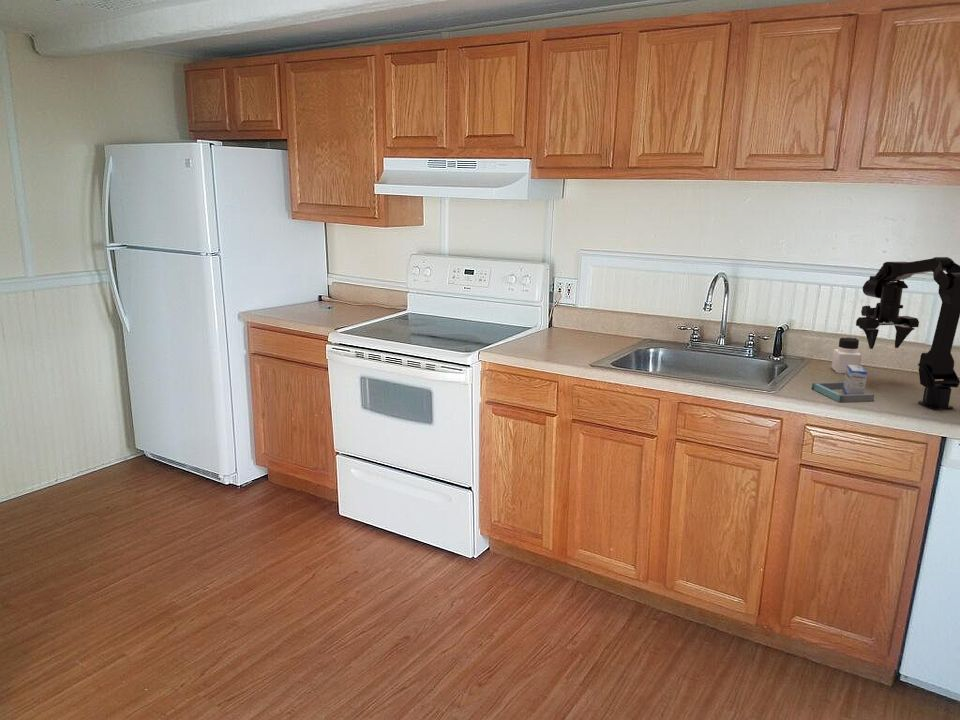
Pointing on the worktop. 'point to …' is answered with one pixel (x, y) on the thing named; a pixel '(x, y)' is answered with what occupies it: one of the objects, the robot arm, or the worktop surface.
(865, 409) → the worktop surface
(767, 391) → the worktop surface
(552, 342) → the worktop surface
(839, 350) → the medicine bottle
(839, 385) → the frame
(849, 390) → the medicine box
